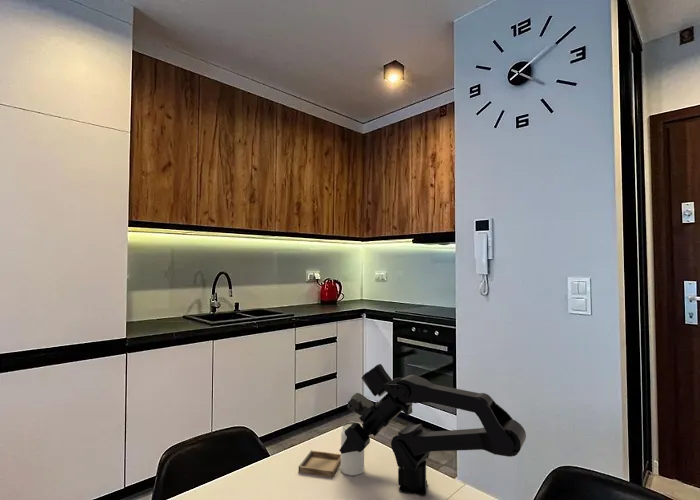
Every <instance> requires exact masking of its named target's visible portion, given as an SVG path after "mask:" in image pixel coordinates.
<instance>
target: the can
mask: <svg viewBox="0 0 700 500" xmlns="http://www.w3.org/2000/svg"><path fill="white" fill-rule="evenodd" d="M354 422H355V423H359V424H360V425H361V427H362V428H363V425H362V424H363V423H360V422H357V421H347V422H345V423H343V424H342V429H341V431H340V448H341V447H342V445H343V444H344V442H345V440H346V439H347V436H346V435H345V432H344V431H345V430H346V429H348V428H349V427H350V426H351V425H352V424H353V423H354ZM340 454H341V464H340V470H341V473H342V474H344V475H345V476H349V477H356V476H360V475H361V474H363V472H364V470H365V449H363V450H362V451H361V452H358V451H354V452H348V453H343V454H342V453H341V452H340Z"/></svg>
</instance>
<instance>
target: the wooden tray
mask: <svg viewBox="0 0 700 500" xmlns="http://www.w3.org/2000/svg"><path fill="white" fill-rule="evenodd" d="M339 467H341V453H335V452H326V451H320V450H319V451H317V450H310V451H309V453H308V454H307V455H306V456H305V458H304V459H303V460H302V462H300V464H299V466H298V473H301V474H306V475H307V474H308V475H314V476H320V477H327V478H334V477H335V476H336V475H335V474H336V473H337V471H338V470H339Z"/></svg>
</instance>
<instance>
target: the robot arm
mask: <svg viewBox="0 0 700 500" xmlns="http://www.w3.org/2000/svg"><path fill="white" fill-rule="evenodd" d="M361 380H362V381H363V383H364V384H365V385H366V387H367V389H369V391H370V393H371V394H372V395H373V396H374V397H377V396H378V397H379V398H380V397H381V399H379V401H376V402H372V401H371V400H370V399H369V398H367V397H366V396H364V395H363V394H361V393H360V392H356V393H355V394H353V395H351V397H350V400H348V401H347V408H348V409H349V410H350V411H351V412H353V413H354V414H357V415H359V416H360V417H358V419H359V420H360V421H361V422H362V423H361V424H362V425H363V428H362V427H361V425H360V424H359V423H360V422H358V423H355V422H356V421H353V422H354V423H353V424H352V425H351V426H350V427H349V428H348V429H346V430H345V431H344V432H345V435H346V436H347V439H346V440H345V442H344V444H343V445H342V447H341V446H340V449H339V453H340V454H341V453H342V454H343V453H348V452H354V451H358V452H361V451H362V450H363V449H364V450H365V449H366V448H367V447H368V446H369V444H370V443H371V437H370V436H372V435H373V437H376V436H377V435H378V433H380V432H381V431H382V430H383V429H385V427H387V426H388V425H389V424H390V423H391V421H392V420H394V419H395V418H396V417H397V416H399V414H401V412H403V414H404V415H405V416H406V417H408V416H410V415H411V414H412V413H413V404H421V403H422V404H423V403H430V404H431V403H432V404H434V405H435V404H436V405H441V406H445V407H448V408H452V409H458V410H461V411H467V412H471V413H475V414H476V416H477V417H478V419H479V421H480V422H481V424H482V426H483V427H481V428H479V427H478V428H466V429H452V430H437V431H435V430H434V431H433V430H432V431H427V430H425V429H423V424H422V423H419V424H415V425H413V424H412V423H411V424H410V423H409V424H407V425H406V426H405V427H404V428H402V429H401V430H399V431H398V433H397V434H395V436H393V437H392V439H391V440H390V441H391V442H390V446H391V449H392V453H393V454H394V458H395V460H396V465H397V467H398V468H397V477H398V478H397V481H398V482H397V484H398V486H399V488H398V489H399V491H398V492H400V493H405V494H412V495H418V496H426V495H427V490H428V489H427V487H428V480H427V459H428V458H429V457H430V454H431V452H452V451H453V452H454V451H455V452H456V451H457V452H458V451H478V450H479V451H480V450H481V451H482V450H483V451H486V452H488V453H491V454H493V455H494V456H502V457H510V458H511V457H515V456H517V455H518V454H519V453H520V451H521V449H522V447H523V445H524V443H525V442H526V437H527V433H526V431H525V430H526V429H525V428H524V427H523V425H522V424H521V423H520V422H518V421H517V420H516V419H513V418H512V416H511V415H510V414H509V413H508V412H507V411H506V410H505V409H503V407H501V406H500V405H499V404H497V403H496V401H495V400H494V399H493V397H491V396H490V395H489V394H488V393H485V392H475V391H470V390H466V389H460V388H456V387H455V388H454V387H450V386H445V385H440V384H439V385H438V384H436V383H434V382H430V381H429V380H428V379H426V378H424V377H421V376H419V375H416V374H409V375H407V376H405V377H396V378H393V379H392V378H391V376H390V375H389V374H388V372H387V371H386V369H385V367H384V366H383V365H382V364H381V363H378V364H376V365H375V366H373V367H372V368H371V369H370V370H369V371H367V372H365V373H364V374H363V375H362V377H361ZM383 395H384V396H383ZM382 396H383V397H382Z"/></svg>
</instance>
